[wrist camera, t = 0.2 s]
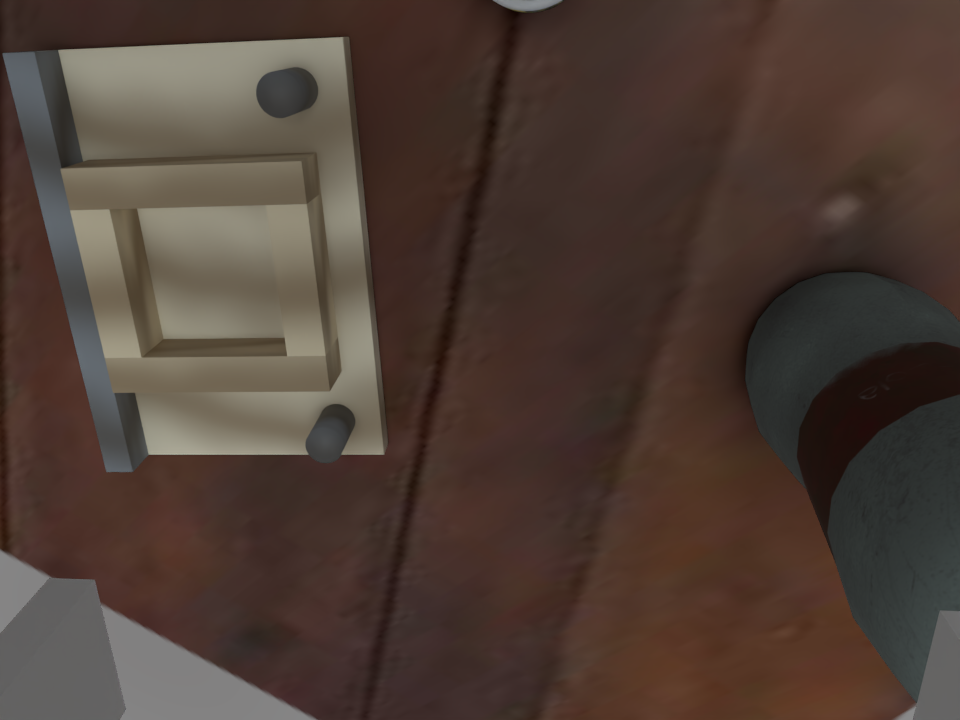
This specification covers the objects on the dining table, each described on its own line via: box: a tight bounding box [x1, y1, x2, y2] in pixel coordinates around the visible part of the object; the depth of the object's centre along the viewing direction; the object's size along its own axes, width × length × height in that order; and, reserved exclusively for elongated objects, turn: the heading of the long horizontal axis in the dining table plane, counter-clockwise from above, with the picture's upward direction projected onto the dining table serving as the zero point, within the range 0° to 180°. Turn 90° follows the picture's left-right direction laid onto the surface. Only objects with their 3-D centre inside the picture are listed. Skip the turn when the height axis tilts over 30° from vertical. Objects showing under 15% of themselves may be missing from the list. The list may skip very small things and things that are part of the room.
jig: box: [2, 37, 388, 472], centre depth 38 cm, size 20×14×4 cm
